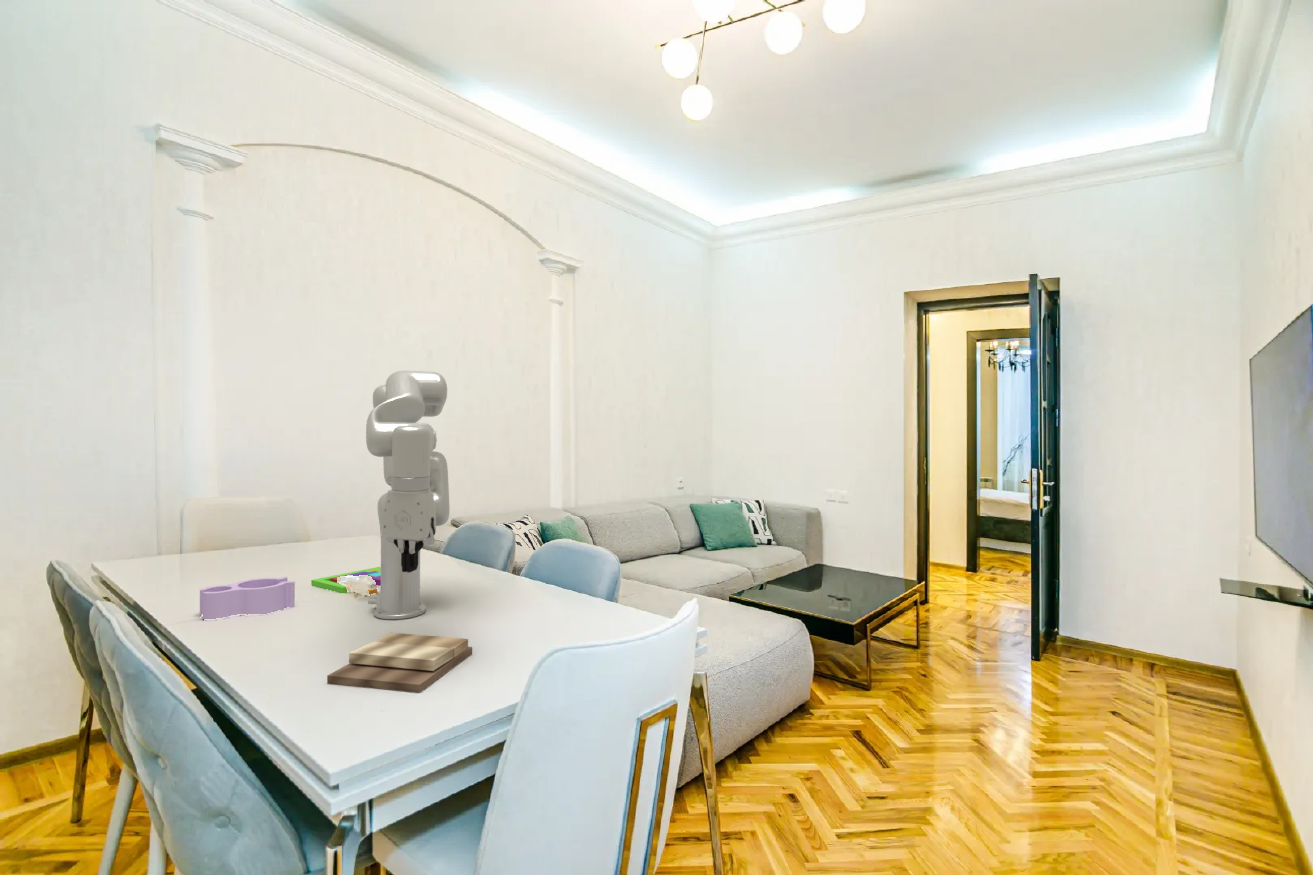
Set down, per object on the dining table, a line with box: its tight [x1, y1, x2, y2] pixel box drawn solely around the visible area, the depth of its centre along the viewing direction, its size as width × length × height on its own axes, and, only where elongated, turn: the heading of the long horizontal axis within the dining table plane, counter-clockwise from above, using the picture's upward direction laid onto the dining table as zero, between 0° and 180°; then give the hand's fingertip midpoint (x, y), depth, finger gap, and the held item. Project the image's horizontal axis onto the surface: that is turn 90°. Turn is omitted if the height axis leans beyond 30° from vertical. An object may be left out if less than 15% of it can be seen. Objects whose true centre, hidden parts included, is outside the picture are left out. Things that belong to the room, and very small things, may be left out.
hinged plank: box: [348, 640, 454, 671], centre depth 132 cm, size 18×8×2 cm, turn 80°
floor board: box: [326, 632, 473, 694], centre depth 132 cm, size 19×21×4 cm
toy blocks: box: [310, 566, 381, 595], centre depth 199 cm, size 23×2×25 cm
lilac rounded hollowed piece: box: [199, 576, 296, 620], centre depth 169 cm, size 20×12×7 cm, turn 134°
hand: (409, 570), depth 139 cm, fingers closed
